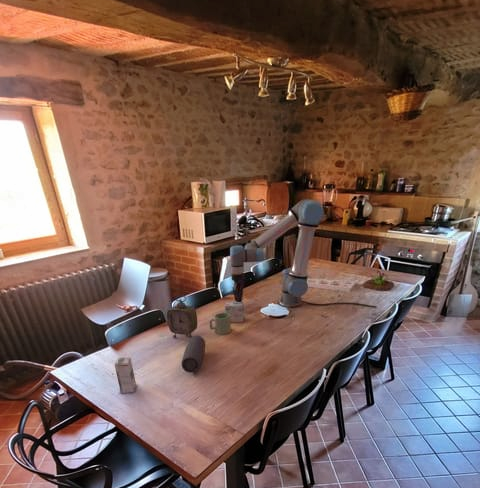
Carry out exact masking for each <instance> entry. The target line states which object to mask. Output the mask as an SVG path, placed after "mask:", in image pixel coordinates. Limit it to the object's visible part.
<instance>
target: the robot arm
mask: <svg viewBox="0 0 480 488" xmlns="http://www.w3.org/2000/svg"><path fill="white" fill-rule="evenodd" d="M324 212H325V211H324V207H323V205H322V204H321V203H320V202H319V201H318V200H315V199H311V198H304V199H302V200H300V201H299V202H298V203H296V204H295V205H294V206H292V207H291V208H290V209H289V210H288V212H287V214H285V215H284V216H283V217H282V218H280V219H279V220H278V221H277V222H275V223H274V224H273V225H271V226H270V227H269V228H268V229H266V230H265V231H263V233H261V234H260V235H259V236H258V237H256V238H255V239H254V240H253V241H251V242H248V243H246V244H245V245H244V246H243V245H241V244H240V245H237V244H236V245H232V246H231V247H230V249H229V252H230V253H229V257H230V270H231V271H230V273H231V280H232V282H233V286H232V291H233V297H234V302H242V301H244V298H243V297H244V283H245V282H244V281H243V280H245V273H244V272H245V263H258V262H263V261H264V260H265V250H264V249H266V248H267V247H268V246H269V245H271V244H272V243H273V242H275V240H277V239H278V238H280V237H281V236H283V234H285V233H286V232H287V231H289V230H290V229H291V228H293V227H294V226H295V225H297V226H298V228H299V229H298V236H297V241H296V247H295V251H294V256H293V262H292V268H285V269H283V270H282V271H281V294H280V297H279V300H278V304H279V305H280V306H281V307H284V308H297V307H300V306H301V305H303V304H308V305H313V306H329V305H357V306H362V307H369V308H374V309H377V308H378V307H377V306H376V305H371V304H366V303H365V304H364V303H357V302H330V303H313V302H308V301H303V298H302V297H303V296H304V295H306V293H307V291H308V289H309V287H308V284H307V279H309V278H308V277H309V274H308V272H307V271H308V270H307V269H308V266H309V260H310V256H311V250H312V246H313V242H314V235H315V231H316V230H317V229H318V228H319V224H320V222H321V221H322V219H323V218H324Z"/></svg>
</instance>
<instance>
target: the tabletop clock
mask: <svg viewBox="0 0 480 488" xmlns="http://www.w3.org/2000/svg"><path fill="white" fill-rule="evenodd" d="M177 296H181V297H183V298H184V300H182V299H181V298H180V299H176V297H177ZM173 299H174V301H177V303H176V304H175V305H174V306H172V307H171V308H170V309H168V310H167V312H166V321H167V325H168V327H169V331H170V332H171V333H173V335H172V337H173V338H175V339H176V337H177V335H184V336H190V337H189V340H190V339H191V338H192V337H193V335H192V333H193V332H195V331H196V330H197V328H198V315H197V311H196V307H194V306H191V305H186V303H185V302H186V300H187V298H186V296H185V295H184V294H183V293H182V294H181V293H177V294H175V295H174V296H173Z"/></svg>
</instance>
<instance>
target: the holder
mask: <svg viewBox="0 0 480 488" xmlns="http://www.w3.org/2000/svg"><path fill="white" fill-rule="evenodd" d="M307 284H308V288H315V289H324V290H329V291H331V290H332V291H338V292H347V293H350V292H352V290H354V288H355V287H356V286H358V281H357V280H349V279H345V280H341V279H324V278H320V279H317V278H316V279H315V278H307Z"/></svg>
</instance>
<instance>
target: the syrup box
mask: <svg viewBox="0 0 480 488" xmlns="http://www.w3.org/2000/svg"><path fill="white" fill-rule="evenodd" d="M114 369H115V374H116V377H117V383H118V386H119V391H120V393H121V394H126V393H127V394H128V393H135V390H136V387H137V382H136V377H135V373H134V372H135V371H134V366H133V362H132V357H129V356H124V357H117V358H116V361H115V363H114Z"/></svg>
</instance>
